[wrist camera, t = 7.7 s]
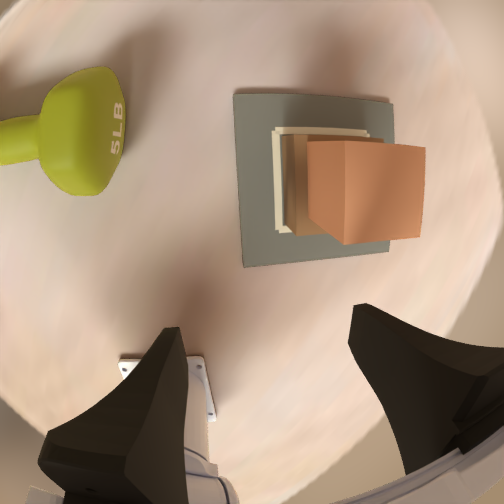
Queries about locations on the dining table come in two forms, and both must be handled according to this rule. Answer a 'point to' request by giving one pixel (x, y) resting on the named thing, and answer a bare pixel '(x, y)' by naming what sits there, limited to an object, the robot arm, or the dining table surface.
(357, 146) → the top block
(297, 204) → the base block
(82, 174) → the dumbbell
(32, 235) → the dining table surface
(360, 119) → the grey square base plate
